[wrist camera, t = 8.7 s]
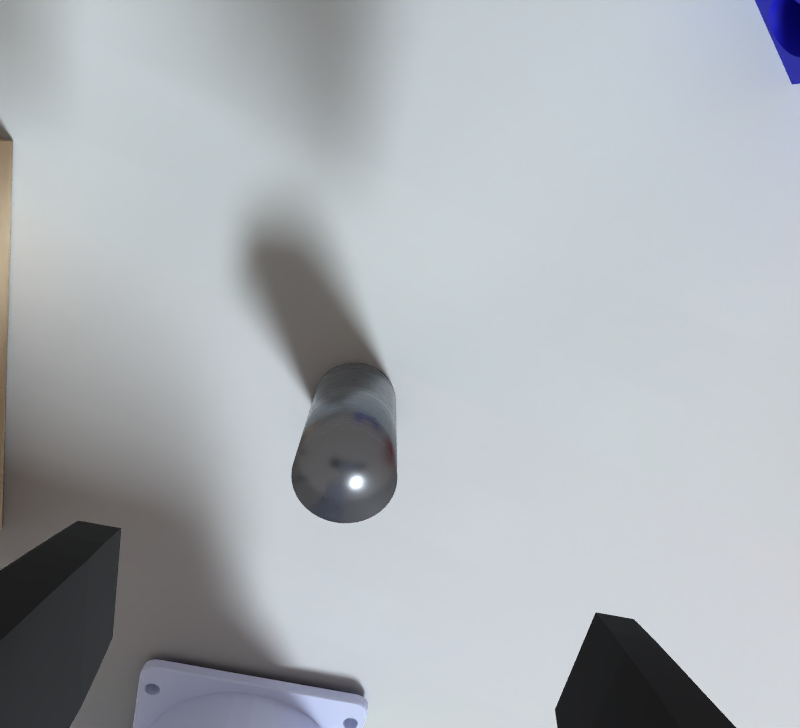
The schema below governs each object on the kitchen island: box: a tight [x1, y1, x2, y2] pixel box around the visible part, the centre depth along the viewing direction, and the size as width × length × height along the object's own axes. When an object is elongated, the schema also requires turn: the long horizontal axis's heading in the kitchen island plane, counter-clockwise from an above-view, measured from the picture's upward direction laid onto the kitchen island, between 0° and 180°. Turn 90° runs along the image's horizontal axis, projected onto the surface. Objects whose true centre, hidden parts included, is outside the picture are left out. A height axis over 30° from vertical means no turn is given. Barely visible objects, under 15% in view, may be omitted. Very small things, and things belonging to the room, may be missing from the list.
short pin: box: [292, 363, 397, 523], centre depth 16 cm, size 2×2×4 cm
